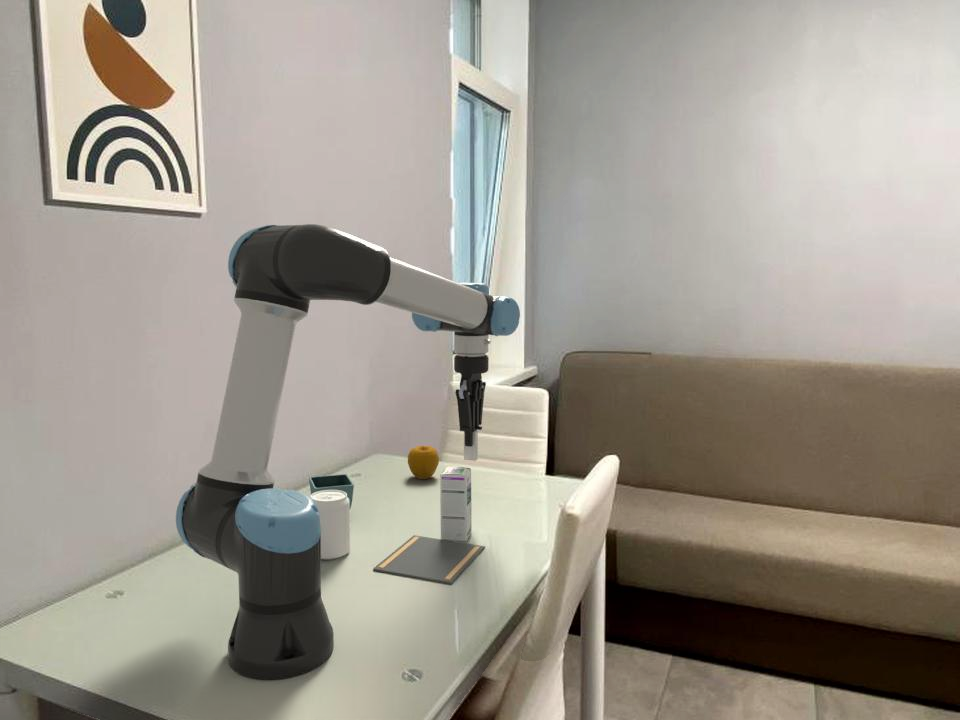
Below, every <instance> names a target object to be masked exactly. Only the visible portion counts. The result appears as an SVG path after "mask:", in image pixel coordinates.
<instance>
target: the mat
mask: <svg viewBox="0 0 960 720" xmlns="http://www.w3.org/2000/svg"><path fill="white" fill-rule="evenodd" d="M485 547H486V546H485V545H479V544H472V543H465V542H462V541H452V540H443V539H441V538H434V537H428V536H423V535H422V536H421V535H415V534H414V535H412V536H411V537H410V538H409V539H407V540H406V541H405V542H404V543H402V544H401V545H400V546H399V547H397V549H395V550H394V551H393V552H391V553H390V554H388V556H386V557H385V558H384V559H382V561H380V562H379V563H378V564H377V565H376V566H374V567H373V568H372V571H374V572H380V573H386V574H390V575H397V576H401V577H402V576H403V577H409V578H412V579H420V580H425V581H428V582H429V581H430V582H437V583H443V584H447V585H453V584H454V582H455V581H456V580H457V579H458V578H459V577H460V576H461V575H462V574H463V572H465V571H466V569H467V568H468V567H469V566H470V565H471V564H472V563H473V562H474V561H475V559H477V558H478V557H479V555H480V554H481V553H482V552H483V551H484V550H485Z"/></svg>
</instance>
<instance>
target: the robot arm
mask: <svg viewBox="0 0 960 720" xmlns="http://www.w3.org/2000/svg"><path fill="white" fill-rule="evenodd" d="M227 265H228V266H227V268H228V273H229V274H228V275H229V277H230V278H231V279H232V283H233V285H234V287H235V293H234V298H233V301H234V303H235V304H236V306H237V307H238V309H239V310H240V311H239V312H240V318H239V324H238V327H237V328H238V329H237V334H236V339H235V343H234V349H233V353H232V357H231V363H230V367H229V368H230V369H229V373H228V378H227V382H226V388H225V392H224V393H225V394H224V397H223V401H222V406H221V412H220V417H219V421H218V426H217V432H216V436H215V441H214V446H213V451H212V456H211V459H210V461H209V462H208V463H207V464H205V465H204V466H203V467H201V468H199V470H198V473H197V478H196V482H195V483H193V484H192V485H191V486H190V487H189V489H188V490H186V491H185V492H184V493H183V494H182V495H181V498H180V500H179V502H178V504H177V507H176V512H175V526H176V530H177V533H178V535H179V537H180V538H181V540H182V542H183V543H184V544H185V545H186V546H187V547H188V548H189V549H192V551H193V552H194V553H196V555H199V556H200V557H203V558H205V559H207V560H211V561H212V562H215V563H217V564H219V565H221V566H223V567H225V568H227V569H229V570H231V571H233V572H234V573H237V576H238V599H239V600H238V601H239V605H238V609H237V612H236V617H235V619H234V623H233V626H232V630H231V632H230V635H229V639H228V643H227V655H228V656H227V657H228V658H227V659H228V664H229V666H230V668H231V669H232V670H234V672H237V673H238V674H240V675H242V676H245V677H247V678H253V679H257V680H278V679H286V678H287V679H288V678H291V677H295V676H299V675H301V674H304V673H307V672H309V671H312V670H314V669H316V668H317V667H319V666H321V665H322V664H323V663H324V662H326V661H327V660H328V658H329V657H330V656H331V655H332V653H333V651H334V648H335V645H334V644H335V641H334V640H335V639H334V628H333V626H332V624H331V622H330V619H329V616H328V613H327V610H326V607H325V604H324V601H323V599H322V581H321V580H322V574H321V573H322V565H321V564H322V563H321V562H322V559H321V524H320V516H319V509H318V506H317V504H316V503H315V501H314V500H313V499H312V498H310V495H307V494H306V493H303V492H301V491H298V490H295V489H289V488H288V489H282V488H279V487H278V488H277V487H274V486H275V479H274V477H273V476H272V474H271V473H270V472H269V469H268V466H269V460H270V455H271V451H272V450H271V449H272V445H273V441H274V437H275V430H276V425H277V421H278V420H277V419H278V417H279V416H278V414H279V411H280V406H281V405H280V404H281V401H282V395H283V389H284V384H285V379H286V375H287V369H288V365H289V361H290V353H291V350H292V343H293V340H294V339H293V338H294V335H295V330H296V325H297V324H298V322H300V321H301V320H303V319H304V318H306V317H307V316H308V312H309V309H310V308H309V307H310V303H311V301H344V302H351V303H357V304H360V305H362V306H363V305H364V306H367V305H369V306H371V305H373V304H374V303H379V304H382V305H385V306H388V307H393V308H395V309H399V310H402V311H406V312H410V313H411V318H412V322H413V324H414V325H415V327H416V328H417V329H418V330H420V331H422V332H431V333H434V332H435V333H436V332H439V331H440V332H441V331H443V332H453V333H454V334H453V335H454V336H453V352H454V353H455V355H454V357H453V361H454V362H453V371H455V372H456V373H457V374H460V375H461V376H460V381H459V389H458V388H457V389H456V390H455V392H454V393H455V397H456V401H457V413H458V422H459V431H460V432H463V460H466V461H473V462H476V461H477V460H478V456H479V455H478V453H479V451H478V450H479V447H478V445H479V443H478V442H479V439H478V437H479V435H478V434H479V431H481V430H483V426H482V424H483V423H482V422H483V413H484V398H485V391H486V387H487V386H486V385H487V383H486V381H483V380H482V379H483V378H482V374H485V373H487V372H489V362H490V360H489V359H490V358H489V356H488V354H487V353H489V345H490V344H491V342H492V341H491V339H489V336H494V337H500V336H501V337H502V336H504V337H507V336H510V335H512V334H514V333H515V331H516V330H517V329H518V327H519V324H520V318H521V311H520V306H519V305H518V302H517V301H516V300H515V299H514V298H512V297H510V296H503V295H498V296H497V295H491V294H490V293H489V291H490V290H489V286H488V285H487V284H486V283H482V282H456V281H454V280H450V279H447V278H446V277H442V276H440V275H437V274H435V273H432V272H429V271H427V270H424V269H421V268H420V267H416V266H413V265H411V264H408V263H406V262H403V261H401V260H398V259H396V258H395V259H394V258H392V257H390V253H389V252H388V251H387V250H386V249H384V248H383V247H382V246H379V245H377V244H373V243H371V242H368V241H366V240H363V239H362V238H358V237H357V236H354V235H352V234H349V233H346V232H343V231H342V230H341V231H340V230H338V229H335V228H333V227H329V226H325V225H322V224H309V223H307V224H295V225H293V224H291V225H289V224H288V225H285V224H284V225H276V224H269V225H268V224H266V225H264V226H260V227H255V228H252V229H250V230H248V231H246V232H245V233H243V234H242V235H240V237H238V238H237V239H236V241H235V242H234V244H233V246H232V247H231V249H230V252H229V255H228V263H227Z"/></svg>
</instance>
